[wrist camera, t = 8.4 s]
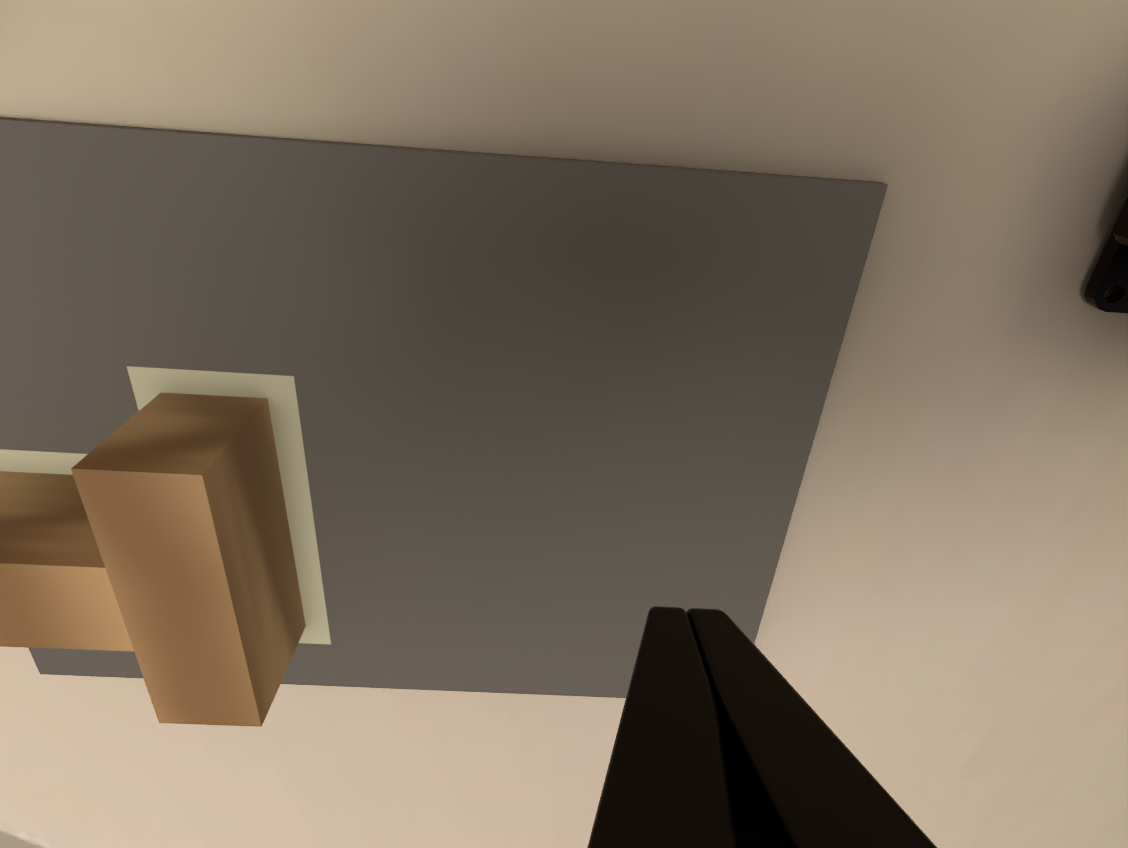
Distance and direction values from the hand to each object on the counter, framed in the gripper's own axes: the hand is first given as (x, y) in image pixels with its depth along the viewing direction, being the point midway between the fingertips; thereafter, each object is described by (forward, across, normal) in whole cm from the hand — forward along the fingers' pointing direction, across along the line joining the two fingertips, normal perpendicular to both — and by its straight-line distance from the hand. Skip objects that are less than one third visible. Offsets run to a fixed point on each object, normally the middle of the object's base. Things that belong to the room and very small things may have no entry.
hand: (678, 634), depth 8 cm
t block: (+12, +14, +8) cm, 20 cm away
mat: (+12, +6, +6) cm, 15 cm away
